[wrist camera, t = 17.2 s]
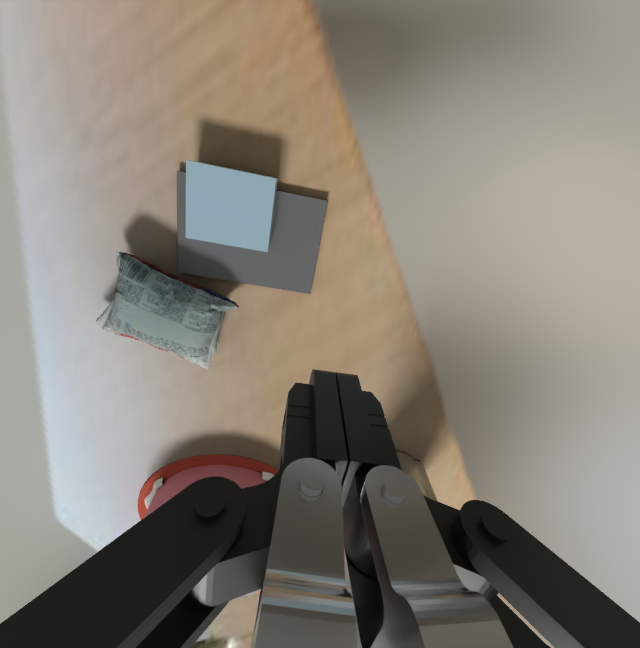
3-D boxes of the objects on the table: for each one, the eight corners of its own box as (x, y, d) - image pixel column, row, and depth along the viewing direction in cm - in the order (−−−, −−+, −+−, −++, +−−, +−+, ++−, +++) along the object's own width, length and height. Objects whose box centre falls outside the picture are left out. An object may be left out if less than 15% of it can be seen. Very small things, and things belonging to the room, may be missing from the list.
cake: (163, 561, 53) (132, 646, 44) (116, 457, 42) (61, 542, 32) (309, 552, 54) (310, 634, 44) (302, 447, 43) (301, 527, 33)
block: (267, 252, 28) (276, 178, 25) (185, 237, 27) (185, 159, 24) (270, 246, 29) (278, 177, 27) (193, 233, 29) (194, 160, 26)
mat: (327, 200, 28) (327, 200, 28) (310, 291, 32) (310, 293, 32) (179, 170, 27) (176, 170, 26) (180, 270, 31) (177, 272, 30)
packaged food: (214, 359, 36) (201, 385, 31) (106, 315, 33) (74, 337, 28) (244, 295, 32) (235, 314, 28) (127, 240, 30) (96, 252, 25)
